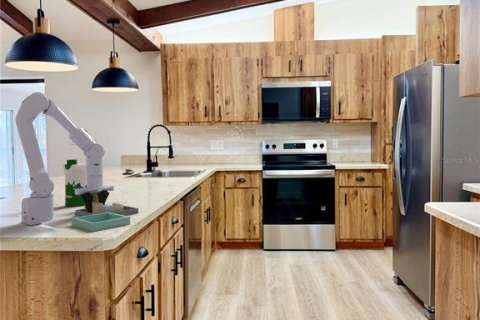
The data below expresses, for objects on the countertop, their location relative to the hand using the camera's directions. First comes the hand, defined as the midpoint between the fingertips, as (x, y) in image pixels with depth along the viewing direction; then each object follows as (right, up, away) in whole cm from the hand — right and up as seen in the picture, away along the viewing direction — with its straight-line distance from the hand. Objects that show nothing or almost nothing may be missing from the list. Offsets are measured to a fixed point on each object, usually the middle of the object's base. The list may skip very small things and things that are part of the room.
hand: (95, 211), depth 144 cm
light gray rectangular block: (+6, -1, -5) cm, 8 cm away
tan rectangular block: (0, -1, 0) cm, 1 cm away
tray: (+5, -1, -1) cm, 5 cm away
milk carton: (-16, -1, +23) cm, 28 cm away
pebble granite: (+8, -1, +3) cm, 8 cm away
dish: (+9, -2, -19) cm, 21 cm away
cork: (-5, -1, +9) cm, 10 cm away
